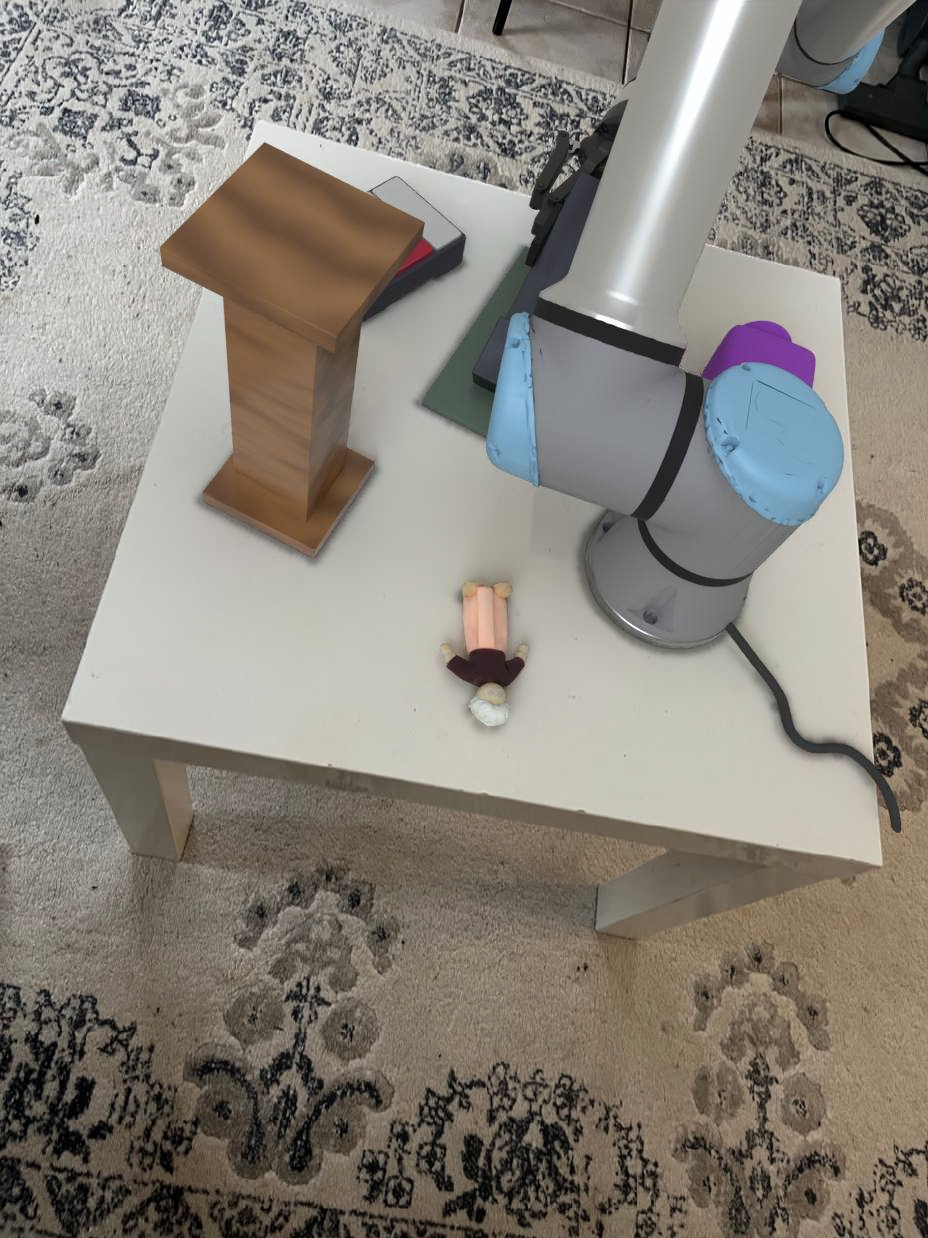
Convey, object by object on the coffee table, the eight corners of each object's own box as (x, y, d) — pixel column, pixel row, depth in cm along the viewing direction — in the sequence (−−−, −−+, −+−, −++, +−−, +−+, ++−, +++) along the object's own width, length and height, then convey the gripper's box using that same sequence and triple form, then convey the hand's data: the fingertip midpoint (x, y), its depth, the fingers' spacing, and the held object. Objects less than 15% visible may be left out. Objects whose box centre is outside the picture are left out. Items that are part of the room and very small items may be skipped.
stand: (267, 411, 84) (264, 140, 59) (380, 469, 83) (425, 221, 59) (194, 503, 78) (158, 246, 53) (316, 566, 78) (336, 336, 53)
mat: (524, 249, 100) (525, 245, 99) (612, 293, 99) (614, 289, 99) (421, 404, 87) (422, 400, 87) (521, 455, 87) (522, 452, 87)
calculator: (287, 228, 89) (397, 167, 95) (288, 261, 93) (394, 200, 99) (361, 297, 87) (469, 230, 93) (359, 328, 91) (463, 262, 97)
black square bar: (575, 183, 88) (578, 163, 84) (614, 203, 88) (620, 183, 84) (472, 382, 89) (471, 372, 85) (512, 402, 89) (512, 392, 85)
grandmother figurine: (525, 576, 77) (541, 713, 71) (521, 598, 80) (536, 731, 74) (436, 579, 76) (444, 718, 70) (435, 601, 80) (443, 736, 74)
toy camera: (774, 375, 98) (823, 308, 90) (781, 476, 92) (834, 415, 83) (681, 354, 97) (722, 284, 88) (682, 455, 91) (726, 391, 82)
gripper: (690, 198, 98) (617, 332, 88) (555, 131, 99) (466, 256, 88) (720, 137, 92) (645, 273, 81) (575, 65, 92) (481, 191, 81)
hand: (552, 264), depth 85 cm, fingers closed on black square bar, 4 cm apart
